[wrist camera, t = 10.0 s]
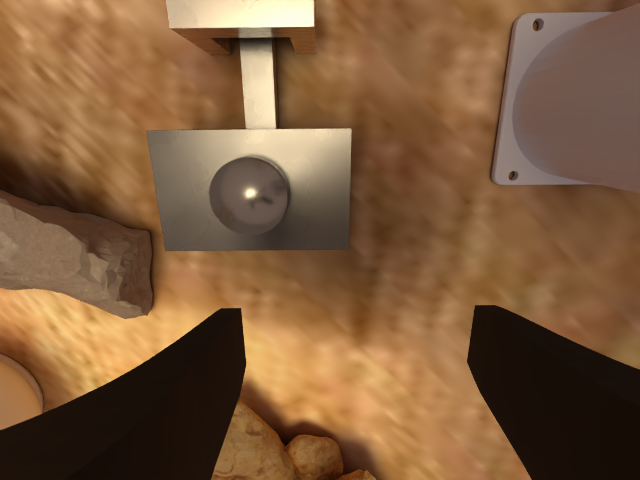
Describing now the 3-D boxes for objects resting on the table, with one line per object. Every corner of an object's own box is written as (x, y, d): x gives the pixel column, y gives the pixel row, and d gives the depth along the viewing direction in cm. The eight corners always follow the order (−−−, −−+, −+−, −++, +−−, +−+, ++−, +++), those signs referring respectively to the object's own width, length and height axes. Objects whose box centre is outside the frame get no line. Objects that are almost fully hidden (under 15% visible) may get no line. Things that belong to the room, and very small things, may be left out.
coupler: (345, -85, 15) (360, -209, 10) (342, 220, 20) (350, 257, 14) (166, -83, 15) (75, -205, 10) (202, 221, 20) (154, 259, 14)
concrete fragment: (137, 329, 22) (73, 401, 17) (-87, 209, 20) (-254, 244, 14) (188, 245, 20) (136, 293, 15) (-52, 100, 18) (-228, 89, 12)
